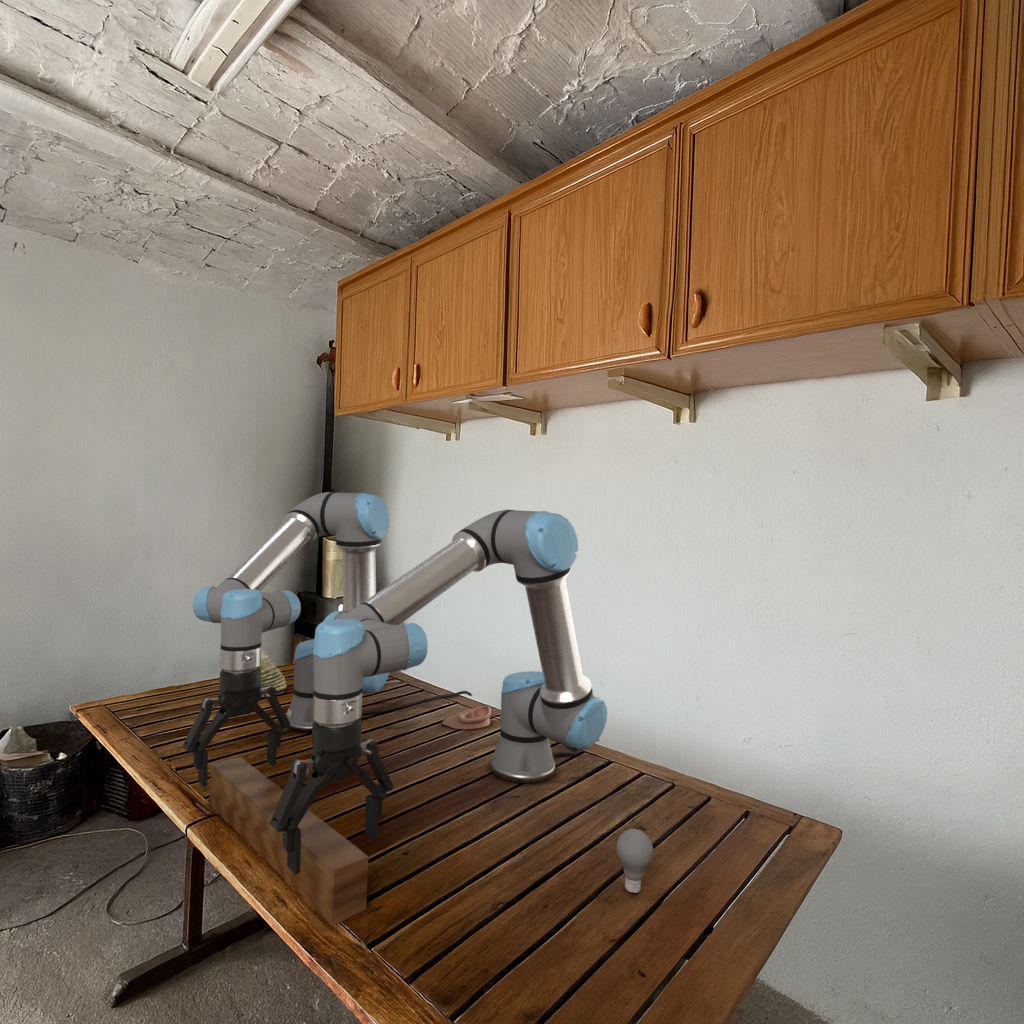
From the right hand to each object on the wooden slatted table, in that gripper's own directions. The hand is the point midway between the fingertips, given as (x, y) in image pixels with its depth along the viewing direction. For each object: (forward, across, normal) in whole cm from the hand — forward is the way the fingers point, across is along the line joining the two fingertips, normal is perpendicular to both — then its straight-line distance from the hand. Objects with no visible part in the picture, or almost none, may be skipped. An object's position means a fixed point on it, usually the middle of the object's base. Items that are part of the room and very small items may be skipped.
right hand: (334, 852), depth 100 cm
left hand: (0, 0, +37) cm, 37 cm away
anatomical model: (+9, +68, +46) cm, 83 cm away
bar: (+7, 0, +19) cm, 20 cm away
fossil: (+8, +33, +106) cm, 111 cm away
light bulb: (+8, +38, -31) cm, 49 cm away
